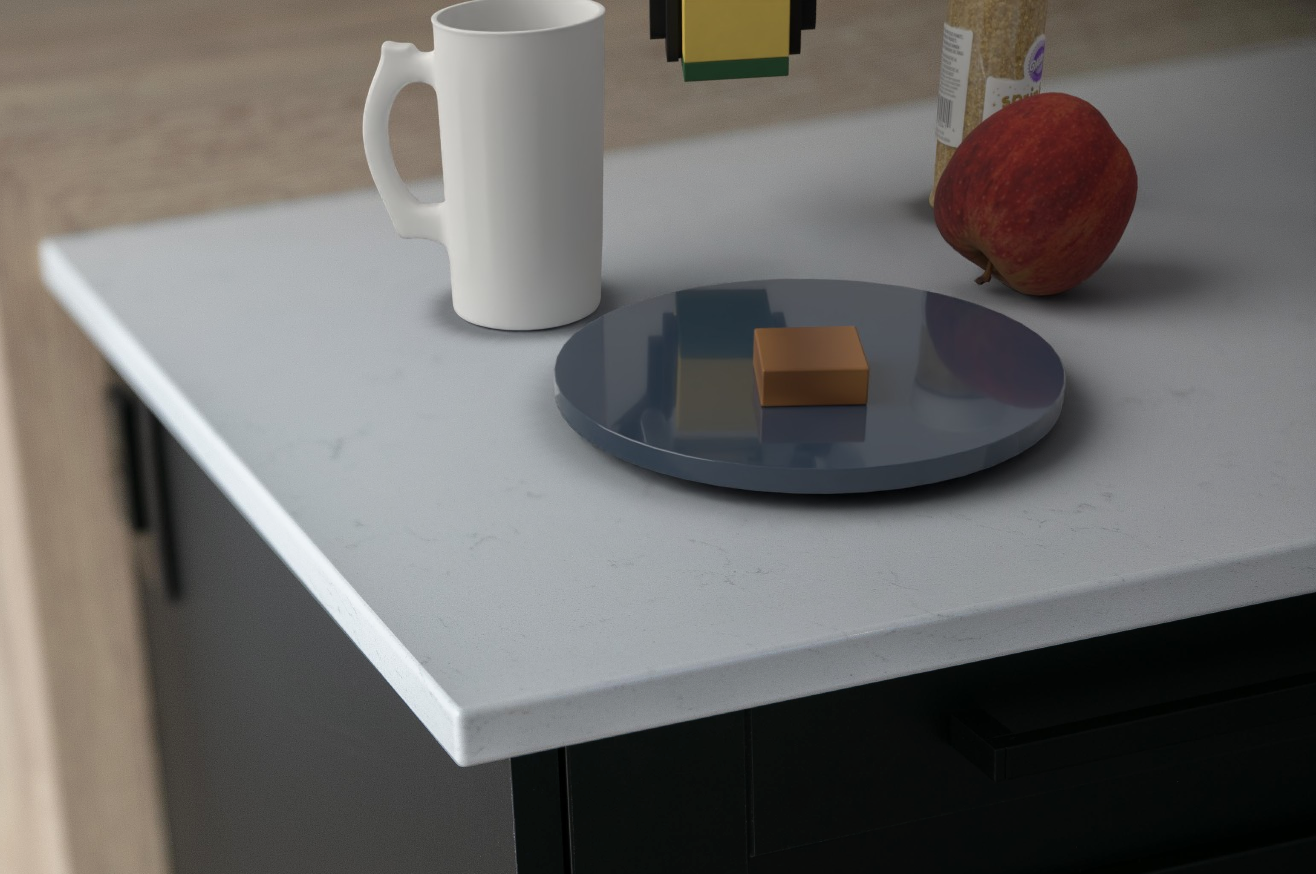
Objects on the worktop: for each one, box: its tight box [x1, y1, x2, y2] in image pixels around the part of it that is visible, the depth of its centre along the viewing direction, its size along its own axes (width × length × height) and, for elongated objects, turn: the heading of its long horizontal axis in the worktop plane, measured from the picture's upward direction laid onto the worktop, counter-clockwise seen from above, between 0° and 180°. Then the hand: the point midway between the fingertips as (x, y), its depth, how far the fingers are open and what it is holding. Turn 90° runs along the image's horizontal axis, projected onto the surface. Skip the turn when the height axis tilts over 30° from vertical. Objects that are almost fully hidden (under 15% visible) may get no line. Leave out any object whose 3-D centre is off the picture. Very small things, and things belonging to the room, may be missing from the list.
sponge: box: [680, 0, 790, 83], centre depth 81 cm, size 7×4×4 cm, turn 174°
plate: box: [553, 278, 1066, 495], centre depth 68 cm, size 18×18×2 cm
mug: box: [362, 0, 607, 331], centre depth 76 cm, size 10×7×12 cm, turn 74°
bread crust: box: [753, 326, 870, 407], centre depth 65 cm, size 4×4×1 cm
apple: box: [933, 91, 1139, 296], centre depth 74 cm, size 7×8×8 cm
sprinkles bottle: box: [928, 0, 1049, 209], centre depth 83 cm, size 5×5×14 cm
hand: (731, 47), depth 82 cm, fingers closed on sponge, 4 cm apart
